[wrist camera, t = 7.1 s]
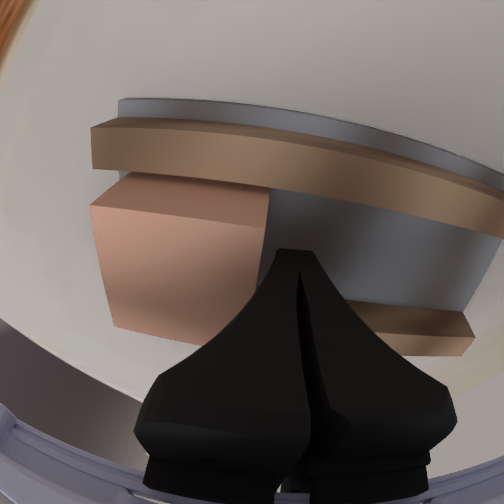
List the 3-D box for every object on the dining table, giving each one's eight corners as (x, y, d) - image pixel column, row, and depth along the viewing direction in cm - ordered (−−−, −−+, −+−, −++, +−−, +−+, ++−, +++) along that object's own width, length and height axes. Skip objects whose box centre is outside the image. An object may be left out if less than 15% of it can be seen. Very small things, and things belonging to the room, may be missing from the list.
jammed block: (271, 176, 11) (265, 228, 8) (254, 283, 14) (244, 352, 10) (143, 162, 11) (89, 205, 8) (149, 265, 14) (114, 326, 11)
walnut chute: (518, 181, 10) (548, 204, 8) (442, 332, 15) (454, 364, 13) (124, 98, 10) (90, 108, 8) (136, 292, 16) (119, 324, 14)
